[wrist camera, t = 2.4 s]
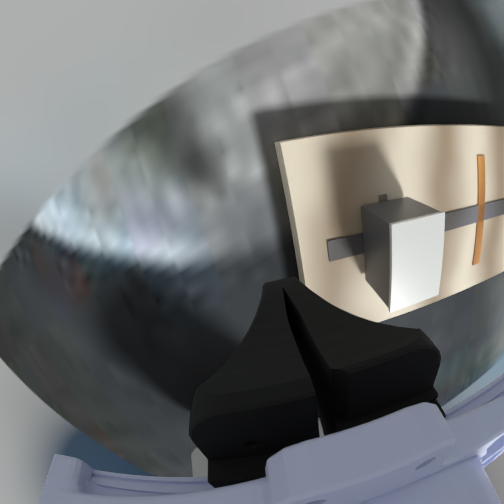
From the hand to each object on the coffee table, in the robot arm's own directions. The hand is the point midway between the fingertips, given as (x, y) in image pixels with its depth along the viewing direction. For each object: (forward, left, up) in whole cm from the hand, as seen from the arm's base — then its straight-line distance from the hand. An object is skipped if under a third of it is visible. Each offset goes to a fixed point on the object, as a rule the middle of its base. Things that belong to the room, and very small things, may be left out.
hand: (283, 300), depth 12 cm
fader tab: (-7, 0, -3) cm, 7 cm away
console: (-12, 0, -6) cm, 13 cm away
